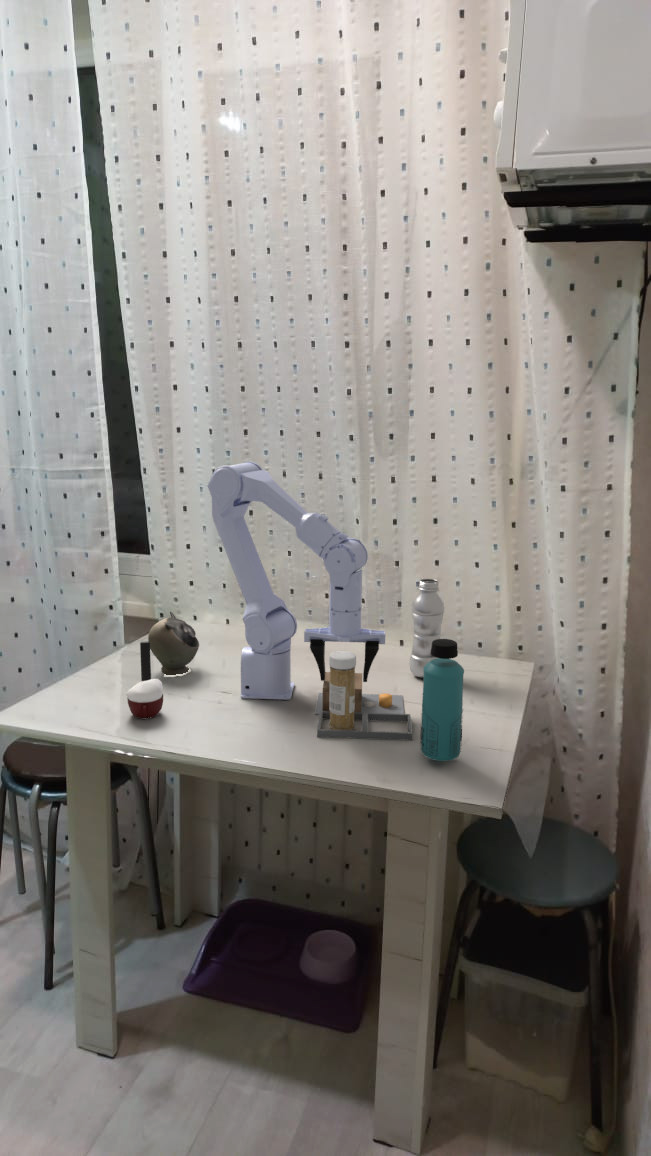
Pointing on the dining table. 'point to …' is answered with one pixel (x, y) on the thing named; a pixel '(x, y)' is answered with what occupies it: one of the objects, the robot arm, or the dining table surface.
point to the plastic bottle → (425, 624)
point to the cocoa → (145, 689)
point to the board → (373, 703)
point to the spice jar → (342, 690)
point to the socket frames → (365, 733)
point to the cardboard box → (357, 692)
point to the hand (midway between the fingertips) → (344, 679)
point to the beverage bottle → (442, 703)
